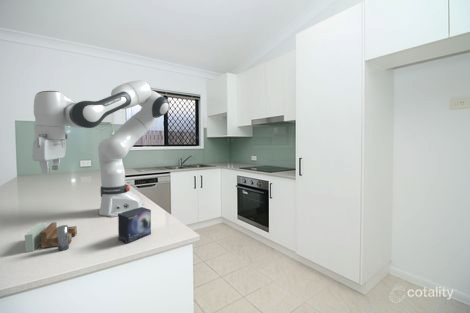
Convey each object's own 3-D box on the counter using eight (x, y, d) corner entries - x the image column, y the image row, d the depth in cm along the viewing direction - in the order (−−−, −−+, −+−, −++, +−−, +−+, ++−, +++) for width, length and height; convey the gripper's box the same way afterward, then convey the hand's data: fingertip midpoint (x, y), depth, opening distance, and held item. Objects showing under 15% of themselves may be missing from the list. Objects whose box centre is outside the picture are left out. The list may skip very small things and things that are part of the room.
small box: (127, 244, 81) (126, 216, 80) (117, 240, 84) (116, 213, 84) (152, 234, 90) (151, 209, 89) (142, 230, 93) (141, 206, 93)
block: (76, 233, 89) (76, 220, 89) (69, 243, 80) (68, 229, 80) (52, 236, 86) (51, 222, 86) (41, 247, 77) (40, 232, 77)
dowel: (69, 246, 79) (68, 224, 79) (67, 250, 76) (66, 227, 76) (59, 247, 78) (58, 225, 77) (56, 251, 75) (55, 229, 75)
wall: (47, 236, 86) (46, 222, 86) (33, 251, 75) (32, 234, 75) (40, 237, 86) (39, 222, 85) (25, 252, 75) (24, 235, 74)
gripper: (49, 134, 74) (50, 174, 74) (68, 135, 93) (69, 168, 93) (25, 133, 71) (26, 175, 72) (50, 135, 90) (51, 168, 91)
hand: (50, 171), depth 83 cm, fingers open, 8 cm apart
